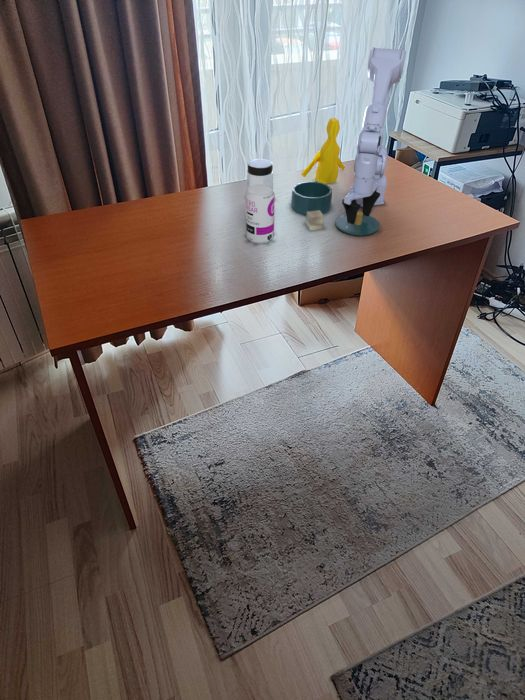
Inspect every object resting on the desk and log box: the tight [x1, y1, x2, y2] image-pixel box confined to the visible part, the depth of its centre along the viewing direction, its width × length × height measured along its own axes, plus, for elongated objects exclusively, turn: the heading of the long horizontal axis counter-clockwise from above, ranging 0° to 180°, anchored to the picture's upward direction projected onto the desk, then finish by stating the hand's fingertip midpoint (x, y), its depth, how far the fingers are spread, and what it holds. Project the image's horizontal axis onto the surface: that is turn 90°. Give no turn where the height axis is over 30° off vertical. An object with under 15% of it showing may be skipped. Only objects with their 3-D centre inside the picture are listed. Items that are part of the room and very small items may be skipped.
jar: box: [246, 158, 274, 191], centre depth 157 cm, size 9×8×12 cm
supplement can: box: [245, 184, 276, 245], centre depth 137 cm, size 8×8×15 cm
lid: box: [335, 210, 381, 237], centre depth 145 cm, size 14×14×4 cm
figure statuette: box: [300, 117, 346, 185], centre depth 164 cm, size 18×8×22 cm, turn 113°
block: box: [305, 210, 325, 231], centre depth 146 cm, size 4×4×4 cm
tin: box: [291, 180, 333, 217], centre depth 155 cm, size 13×13×6 cm
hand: (358, 218), depth 145 cm, fingers open, 7 cm apart
